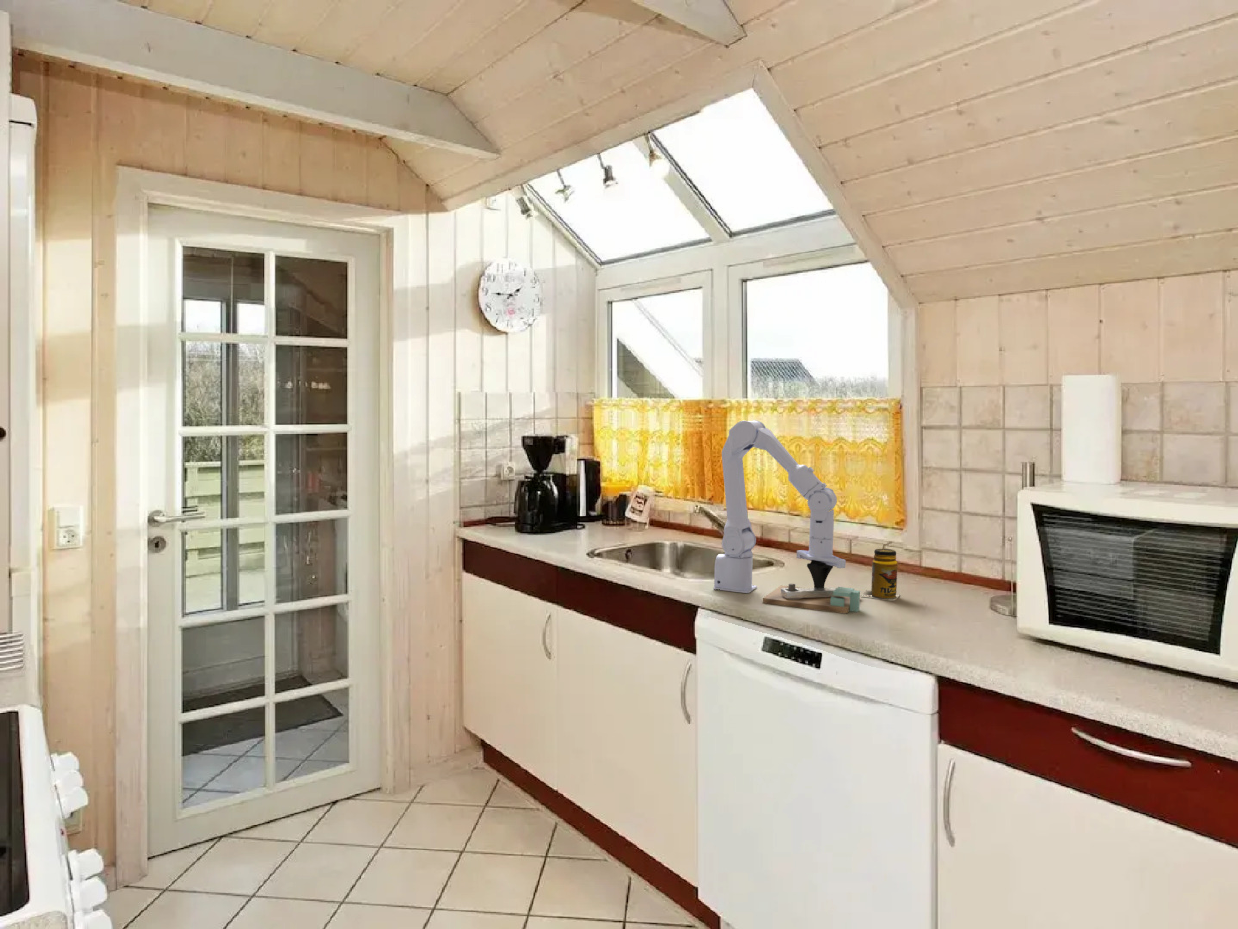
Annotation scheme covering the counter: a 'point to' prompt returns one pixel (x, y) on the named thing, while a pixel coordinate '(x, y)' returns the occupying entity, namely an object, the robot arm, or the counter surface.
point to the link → (808, 592)
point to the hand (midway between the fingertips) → (819, 591)
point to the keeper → (846, 592)
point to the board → (805, 601)
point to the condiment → (883, 575)
